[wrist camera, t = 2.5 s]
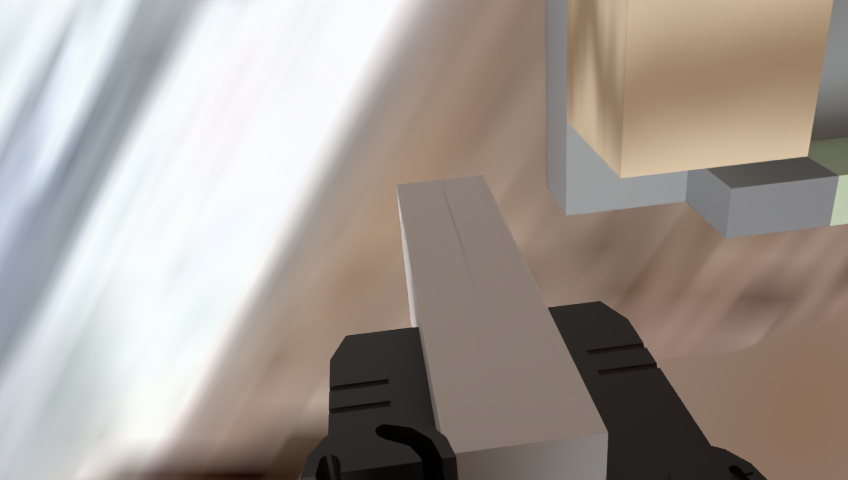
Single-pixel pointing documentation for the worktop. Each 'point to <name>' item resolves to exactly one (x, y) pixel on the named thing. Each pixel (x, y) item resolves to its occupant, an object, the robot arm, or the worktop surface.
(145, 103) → the worktop surface
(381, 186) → the worktop surface
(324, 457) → the robot arm
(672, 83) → the block
